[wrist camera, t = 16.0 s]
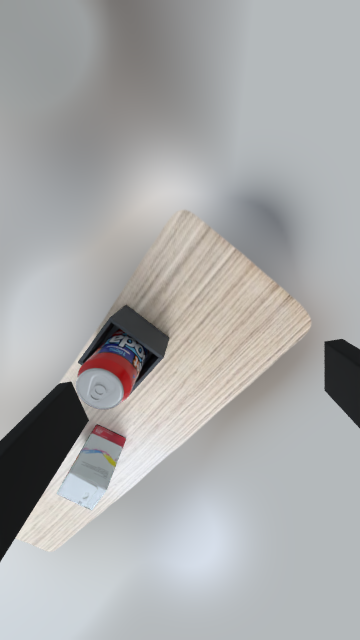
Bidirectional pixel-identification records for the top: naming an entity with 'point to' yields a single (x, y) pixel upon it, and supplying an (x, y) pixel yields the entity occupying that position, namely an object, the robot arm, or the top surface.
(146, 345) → the open top storage bin
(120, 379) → the soda can
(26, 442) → the robot arm
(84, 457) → the ink box
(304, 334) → the top surface
